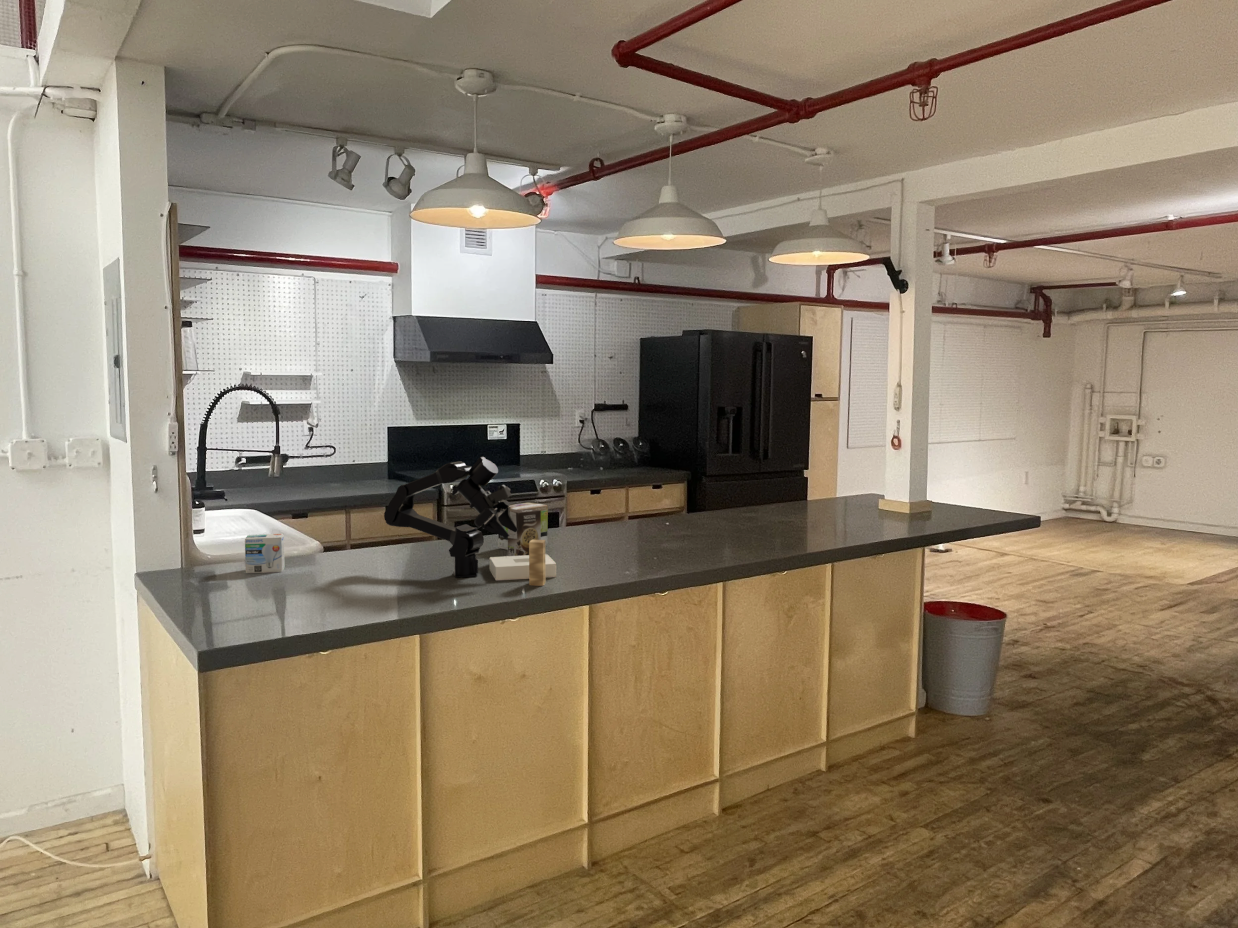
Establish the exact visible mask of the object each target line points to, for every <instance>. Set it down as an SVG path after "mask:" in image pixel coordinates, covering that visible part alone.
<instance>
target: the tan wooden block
mask: <svg viewBox="0 0 1238 928" xmlns="http://www.w3.org/2000/svg"><path fill="white" fill-rule="evenodd" d="M545 554H546V546H545V540H531V541H530V542H529V580H528V581H529V582H528V583H529V584H528V586H536V587H537V586H539V587H541V586H544V585H545V584H546V578H545Z"/></svg>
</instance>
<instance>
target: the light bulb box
mask: <svg viewBox="0 0 1238 928" xmlns="http://www.w3.org/2000/svg"><path fill="white" fill-rule="evenodd" d="M284 538H285V536H284V533H265V534H264V533H263V534H247V536H246V537H245V538H244V559H245V560H244V561H245V574H263V573H264V574H265V573H283V571H284V569H285V565H286V563H285V562H286V561H285V539H284Z"/></svg>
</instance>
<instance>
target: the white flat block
mask: <svg viewBox="0 0 1238 928" xmlns="http://www.w3.org/2000/svg"><path fill="white" fill-rule="evenodd" d="M489 571H490V574H491V575H492V577H493V578H494V579H495V581H509V580H526V579H529V555H524V556H508V555H506V556H505V555H504V556H490V557H489ZM546 578H557V563H556V561H554V559H552V557H550V556H549V554H547V553H545V579H546Z"/></svg>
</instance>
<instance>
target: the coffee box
mask: <svg viewBox="0 0 1238 928" xmlns="http://www.w3.org/2000/svg"><path fill="white" fill-rule="evenodd" d="M510 516H511V518H512V520H513V522H514V523H515V525H516V527H517V529H518V530H517V531H516V532H513V531H512V530H510V529H508V534H509V536H508V550H507V556H524V555H529V542H530V541H531V540H541V511H540V510H535V509H522V510H512V511H510Z"/></svg>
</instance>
